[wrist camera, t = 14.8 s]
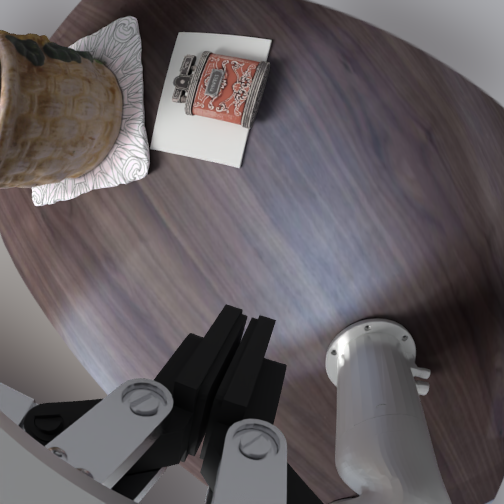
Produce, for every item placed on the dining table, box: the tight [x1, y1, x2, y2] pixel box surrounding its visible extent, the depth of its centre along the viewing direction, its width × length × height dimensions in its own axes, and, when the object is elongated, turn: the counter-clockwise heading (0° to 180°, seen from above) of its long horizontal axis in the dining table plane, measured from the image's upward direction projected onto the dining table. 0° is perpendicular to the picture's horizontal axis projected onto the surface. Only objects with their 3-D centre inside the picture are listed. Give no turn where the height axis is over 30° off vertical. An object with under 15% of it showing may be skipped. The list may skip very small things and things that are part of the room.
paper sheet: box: [150, 32, 272, 168], centre depth 33 cm, size 12×16×1 cm
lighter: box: [172, 51, 270, 129], centre depth 31 cm, size 8×3×10 cm
